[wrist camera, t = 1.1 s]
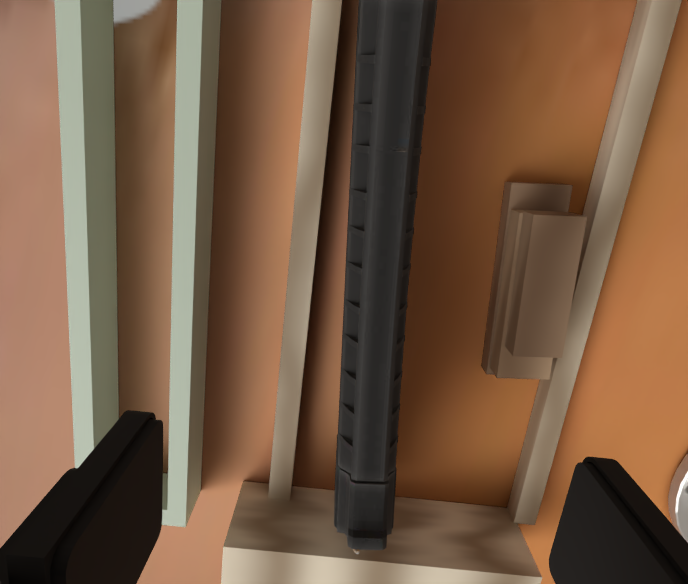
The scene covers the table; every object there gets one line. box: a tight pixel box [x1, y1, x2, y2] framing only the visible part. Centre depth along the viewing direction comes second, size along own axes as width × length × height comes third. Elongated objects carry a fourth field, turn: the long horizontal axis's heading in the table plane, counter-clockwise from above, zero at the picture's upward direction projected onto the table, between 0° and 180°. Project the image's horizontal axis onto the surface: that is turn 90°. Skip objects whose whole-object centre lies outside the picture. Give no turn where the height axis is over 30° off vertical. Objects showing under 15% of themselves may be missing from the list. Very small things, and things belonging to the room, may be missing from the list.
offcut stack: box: [481, 182, 587, 380], centre depth 29 cm, size 4×12×4 cm, turn 178°
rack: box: [221, 0, 682, 584], centre depth 28 cm, size 21×40×6 cm, turn 173°
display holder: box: [55, 0, 221, 527], centre depth 28 cm, size 7×36×4 cm, turn 173°
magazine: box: [334, 0, 437, 554], centre depth 25 cm, size 17×3×30 cm
